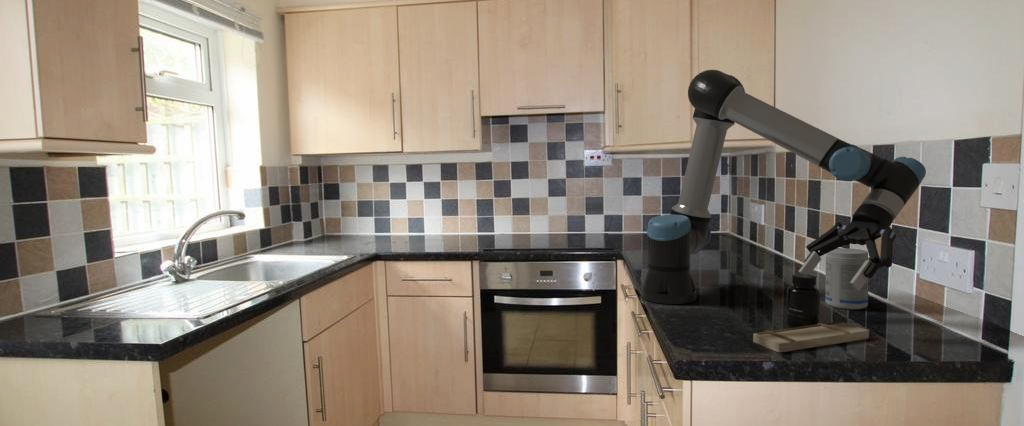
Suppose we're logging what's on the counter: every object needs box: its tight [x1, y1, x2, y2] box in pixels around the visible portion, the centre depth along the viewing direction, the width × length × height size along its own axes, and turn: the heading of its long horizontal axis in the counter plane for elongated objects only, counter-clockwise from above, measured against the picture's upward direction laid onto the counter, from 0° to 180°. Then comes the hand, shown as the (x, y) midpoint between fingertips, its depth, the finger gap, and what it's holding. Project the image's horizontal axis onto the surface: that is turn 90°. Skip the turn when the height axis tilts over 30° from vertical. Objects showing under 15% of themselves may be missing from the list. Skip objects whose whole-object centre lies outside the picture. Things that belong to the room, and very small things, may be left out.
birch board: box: [752, 320, 870, 353], centre depth 111 cm, size 7×24×2 cm, turn 107°
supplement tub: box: [824, 247, 870, 310], centre depth 137 cm, size 10×10×15 cm
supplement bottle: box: [785, 273, 821, 328], centre depth 120 cm, size 7×7×12 cm
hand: (826, 280), depth 120 cm, fingers open, 13 cm apart
